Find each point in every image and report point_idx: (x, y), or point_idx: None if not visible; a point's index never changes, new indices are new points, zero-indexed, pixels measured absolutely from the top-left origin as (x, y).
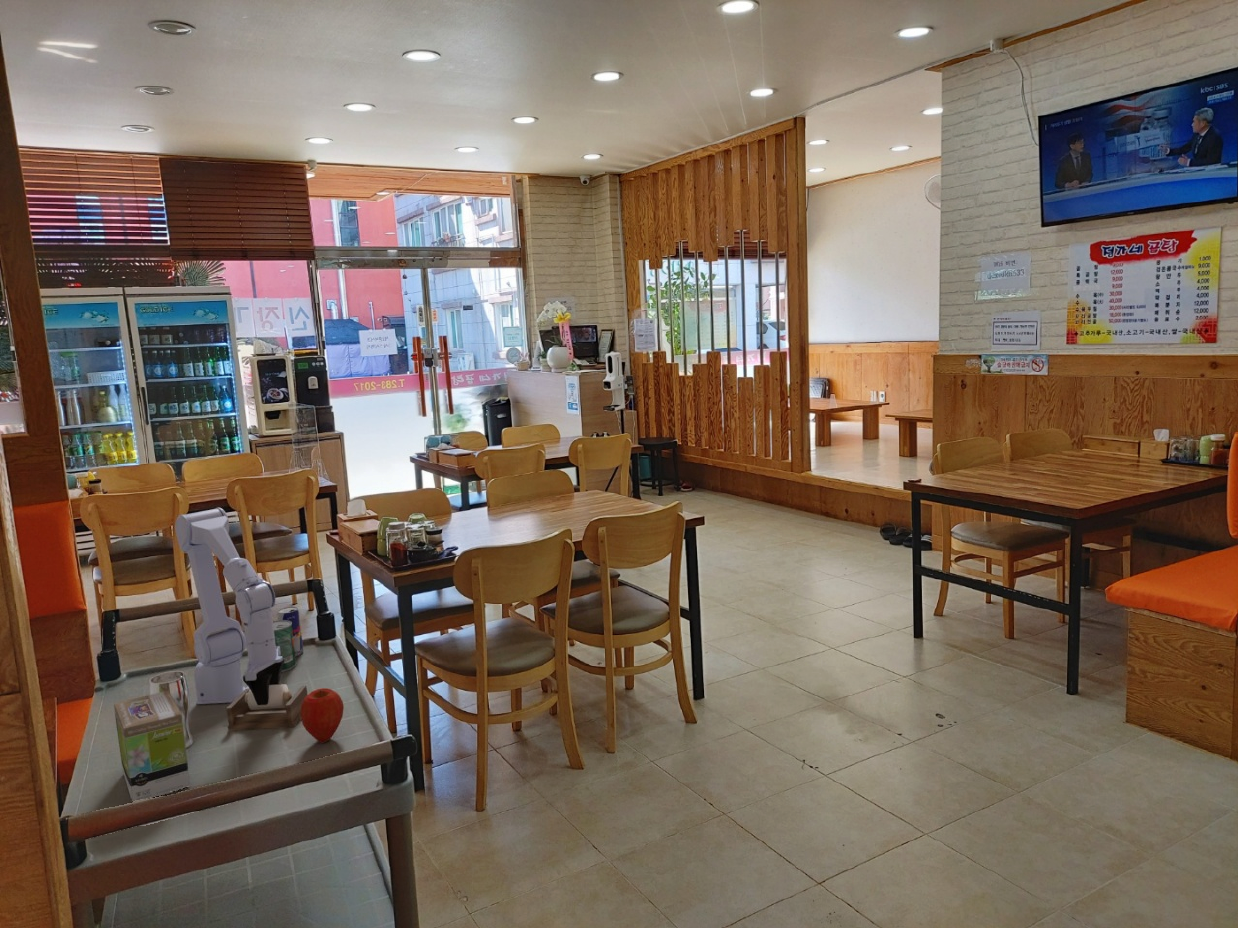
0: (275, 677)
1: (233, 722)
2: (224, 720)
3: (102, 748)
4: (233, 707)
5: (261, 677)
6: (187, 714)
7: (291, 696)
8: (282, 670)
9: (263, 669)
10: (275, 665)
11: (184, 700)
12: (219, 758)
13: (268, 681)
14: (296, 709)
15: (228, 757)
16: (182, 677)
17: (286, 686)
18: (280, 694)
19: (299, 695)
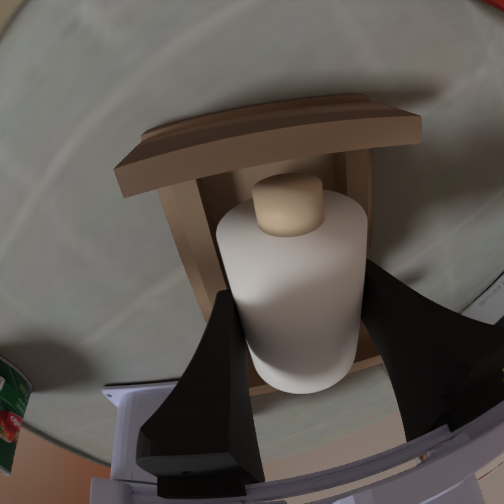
0: (234, 364)
1: None
2: None
3: (377, 416)
4: (372, 351)
5: (500, 368)
6: None
7: (261, 183)
8: (7, 363)
9: (255, 448)
10: (239, 445)
11: None
12: (492, 231)
13: (459, 329)
14: (315, 110)
15: (495, 212)
16: (493, 469)
17: (245, 254)
18: (359, 225)
19: (257, 129)
